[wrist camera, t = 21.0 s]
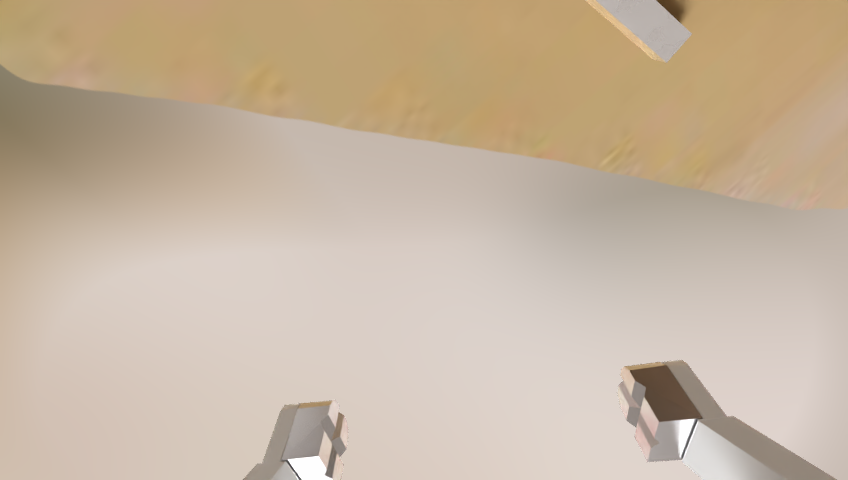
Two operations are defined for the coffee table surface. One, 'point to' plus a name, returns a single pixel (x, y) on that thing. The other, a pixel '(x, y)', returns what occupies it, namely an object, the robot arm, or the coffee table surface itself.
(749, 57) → the coffee table surface
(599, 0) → the aluminium bar
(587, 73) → the coffee table surface
